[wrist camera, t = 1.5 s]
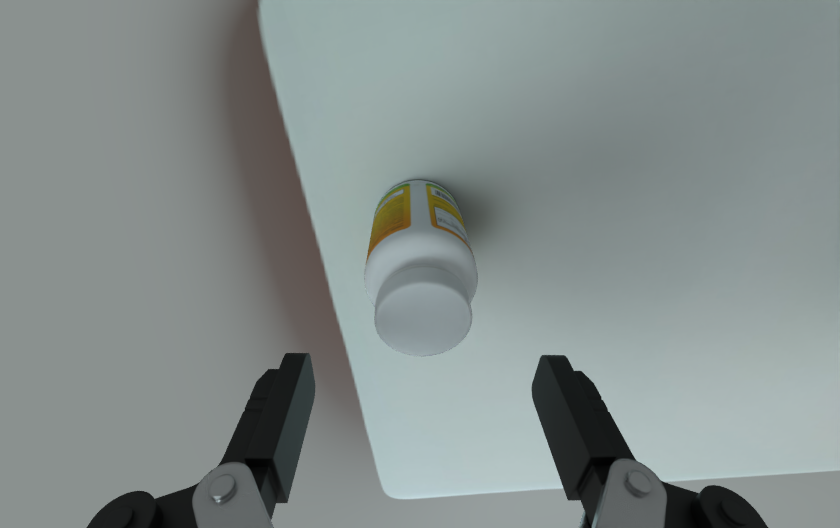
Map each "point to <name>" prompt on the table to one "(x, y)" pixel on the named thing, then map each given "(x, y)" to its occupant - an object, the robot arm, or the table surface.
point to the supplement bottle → (420, 270)
